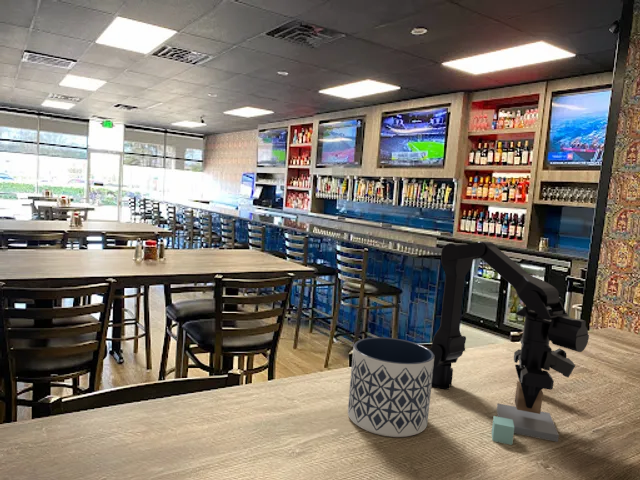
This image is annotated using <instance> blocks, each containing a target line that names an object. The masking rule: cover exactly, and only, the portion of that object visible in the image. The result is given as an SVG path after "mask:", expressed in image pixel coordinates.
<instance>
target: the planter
mask: <svg viewBox="0 0 640 480" xmlns="http://www.w3.org/2000/svg"><path fill="white" fill-rule="evenodd" d="M429 349H430V348H428V347H426V346H424V345H422V344H419V343H417V342H413V341H409V340H407V339H399V338H394V337H393V338H392V337H381V336H380V337H366V338H363V339H358V340H357V341H356V342H355V343H354V344H353V348H352V357H351V358H352V359H351V360H352V361H351V369H350V370H351V371H350V380H349V391H348V404H347V415H348V417H349V419H350V420H351V422H353V424H355V425H356V426H357V427H359V428H360V429H363V430H364V431H367V432H369V433H372V434H373V435H374V434H375V435H379V436H384V437H392V438H406V437H412V436H415V435H418V434H420V433H422V432H423V431H424V430H425V429H426V428H427V426H428V421H429V411H430V402H431V393H432V386H431V385H432V376H433V366H434V354H433V352H432V351H431V350H429Z"/></svg>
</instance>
